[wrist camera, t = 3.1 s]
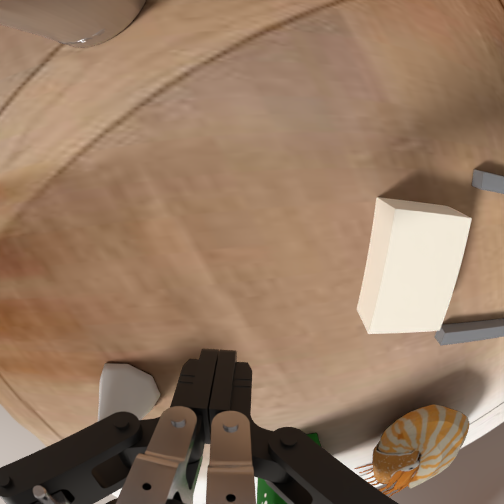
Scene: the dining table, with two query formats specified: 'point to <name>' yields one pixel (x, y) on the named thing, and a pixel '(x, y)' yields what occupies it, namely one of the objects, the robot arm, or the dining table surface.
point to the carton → (411, 266)
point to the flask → (126, 391)
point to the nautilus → (418, 446)
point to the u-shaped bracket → (478, 328)
